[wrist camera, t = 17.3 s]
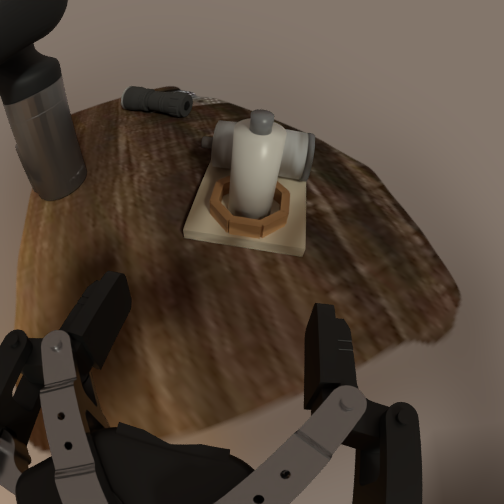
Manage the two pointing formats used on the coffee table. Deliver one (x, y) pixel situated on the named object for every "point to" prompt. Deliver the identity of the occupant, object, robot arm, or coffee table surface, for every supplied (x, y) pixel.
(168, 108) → the flashlight
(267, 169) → the white capped bottle
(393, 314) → the coffee table surface
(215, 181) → the motor mount
